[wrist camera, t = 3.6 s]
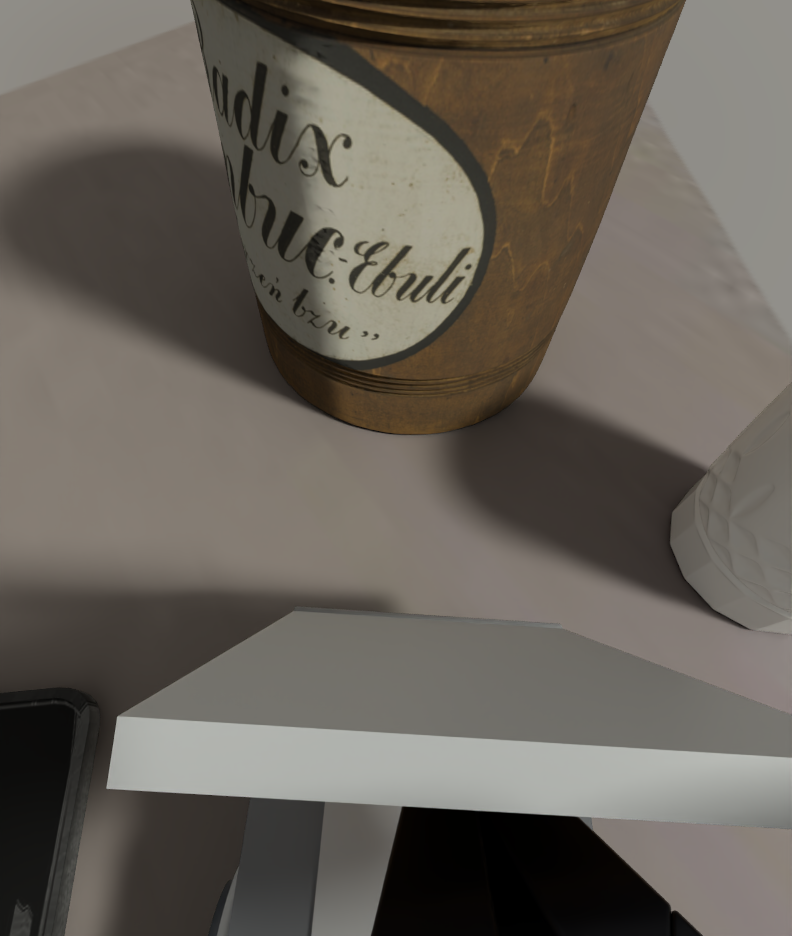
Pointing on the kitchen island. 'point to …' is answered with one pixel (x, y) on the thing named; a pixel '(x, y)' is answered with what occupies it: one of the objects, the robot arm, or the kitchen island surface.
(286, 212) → the wooden container
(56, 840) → the phone
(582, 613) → the kitchen island surface
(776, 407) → the white cup
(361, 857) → the camera case
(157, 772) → the side door
